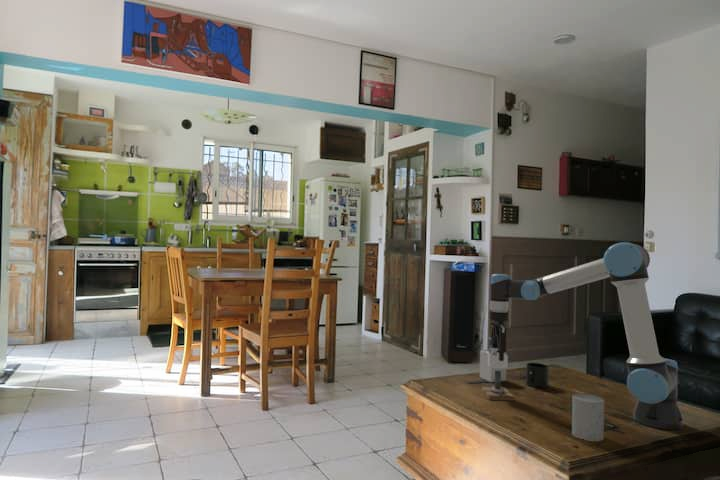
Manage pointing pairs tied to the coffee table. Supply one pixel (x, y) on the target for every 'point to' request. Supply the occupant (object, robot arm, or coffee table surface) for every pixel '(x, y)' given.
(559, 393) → the coffee table surface
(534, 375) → the mug
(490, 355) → the ring
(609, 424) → the coffee table surface
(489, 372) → the soap bottle
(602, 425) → the white cylinder
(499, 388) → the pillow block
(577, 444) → the coffee table surface
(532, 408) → the coffee table surface
